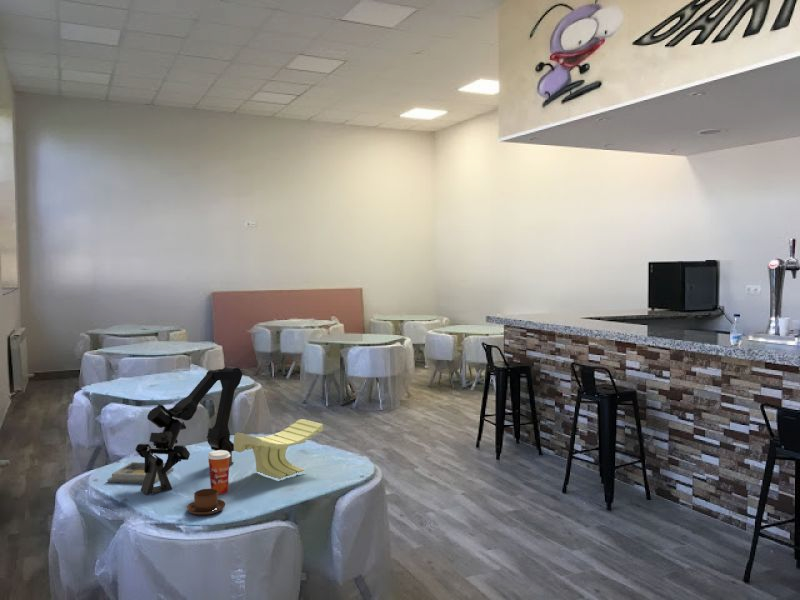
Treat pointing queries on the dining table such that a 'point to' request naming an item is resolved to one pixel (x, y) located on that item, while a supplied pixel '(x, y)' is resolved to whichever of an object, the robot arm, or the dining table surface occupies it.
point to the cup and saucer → (205, 502)
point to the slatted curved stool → (277, 447)
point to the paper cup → (219, 470)
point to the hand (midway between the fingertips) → (154, 473)
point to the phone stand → (150, 476)
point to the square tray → (133, 473)
